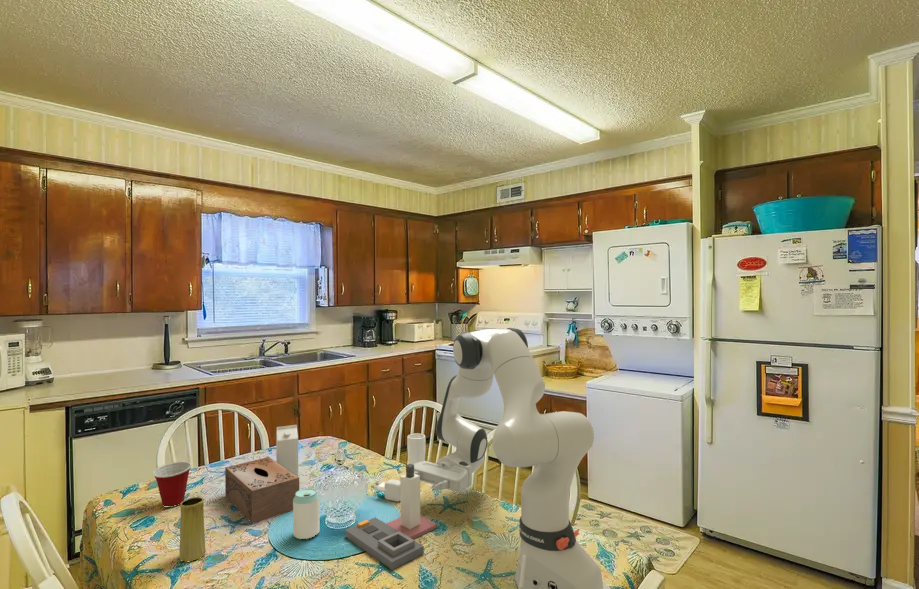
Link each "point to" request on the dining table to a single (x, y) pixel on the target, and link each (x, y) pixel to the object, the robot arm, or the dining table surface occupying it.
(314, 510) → the can
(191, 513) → the vase
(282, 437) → the milk carton
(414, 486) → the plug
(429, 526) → the rubber mat
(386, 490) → the power adapter
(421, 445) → the drinking glass
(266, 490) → the tissue box cover
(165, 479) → the plastic cup
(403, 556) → the power strip
